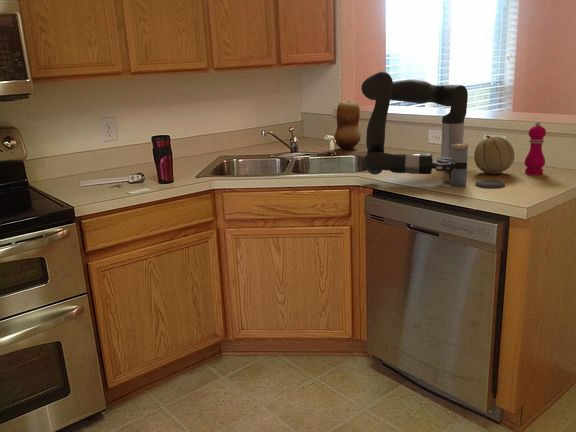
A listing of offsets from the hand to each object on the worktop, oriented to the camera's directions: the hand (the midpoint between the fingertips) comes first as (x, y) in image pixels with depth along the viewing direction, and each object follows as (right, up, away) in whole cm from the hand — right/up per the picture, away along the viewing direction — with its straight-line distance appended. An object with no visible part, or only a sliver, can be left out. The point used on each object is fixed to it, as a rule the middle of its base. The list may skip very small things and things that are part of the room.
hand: (466, 164), depth 193 cm
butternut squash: (-33, +16, +90) cm, 97 cm away
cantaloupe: (+17, -2, +18) cm, 25 cm away
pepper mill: (+31, -2, +15) cm, 35 cm away
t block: (-3, -5, +11) cm, 12 cm away
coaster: (+9, -7, +1) cm, 11 cm away
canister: (-2, -7, +3) cm, 8 cm away
